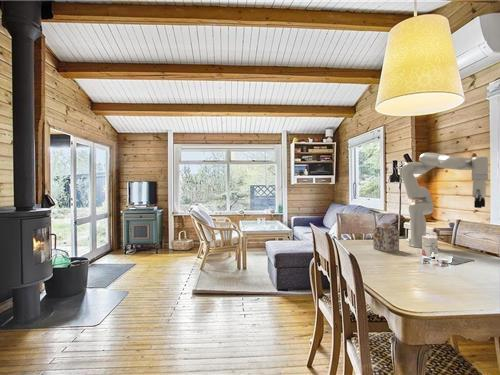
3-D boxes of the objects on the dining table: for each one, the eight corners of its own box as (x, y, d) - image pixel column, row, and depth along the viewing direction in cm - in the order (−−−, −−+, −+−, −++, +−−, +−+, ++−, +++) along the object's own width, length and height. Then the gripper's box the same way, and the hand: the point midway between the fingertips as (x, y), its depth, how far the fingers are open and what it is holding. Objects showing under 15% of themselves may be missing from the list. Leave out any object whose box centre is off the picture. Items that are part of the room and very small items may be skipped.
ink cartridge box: (421, 254, 182) (421, 230, 182) (429, 254, 182) (429, 230, 182) (429, 257, 173) (429, 233, 173) (438, 257, 173) (437, 232, 173)
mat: (428, 259, 168) (428, 258, 168) (447, 255, 178) (447, 254, 178) (454, 265, 156) (454, 264, 156) (474, 260, 165) (474, 259, 165)
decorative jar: (385, 247, 204) (385, 221, 204) (399, 250, 193) (399, 223, 194) (372, 249, 199) (372, 222, 199) (386, 252, 189) (386, 224, 189)
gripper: (475, 178, 178) (475, 206, 178) (468, 178, 167) (468, 207, 167) (490, 178, 172) (490, 206, 173) (484, 177, 161) (484, 208, 161)
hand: (479, 207), depth 170 cm, fingers open, 9 cm apart
